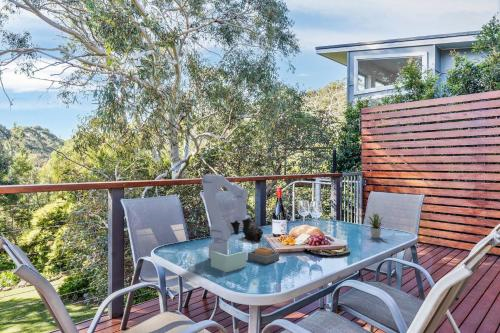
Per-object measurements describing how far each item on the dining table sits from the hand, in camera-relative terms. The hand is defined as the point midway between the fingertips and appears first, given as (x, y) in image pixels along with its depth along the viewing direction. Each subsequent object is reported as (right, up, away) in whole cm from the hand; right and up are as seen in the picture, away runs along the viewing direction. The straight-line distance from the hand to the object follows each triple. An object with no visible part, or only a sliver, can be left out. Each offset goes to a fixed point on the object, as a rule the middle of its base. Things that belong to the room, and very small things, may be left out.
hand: (241, 233), depth 198 cm
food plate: (+48, -10, -2) cm, 49 cm away
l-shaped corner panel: (-5, -11, -29) cm, 31 cm away
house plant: (+86, -9, +34) cm, 93 cm away
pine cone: (+8, -9, +27) cm, 29 cm away
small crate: (+12, -10, -18) cm, 24 cm away
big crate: (+12, -10, -18) cm, 24 cm away
